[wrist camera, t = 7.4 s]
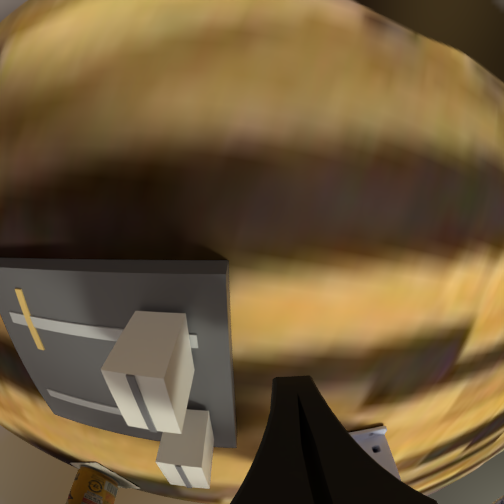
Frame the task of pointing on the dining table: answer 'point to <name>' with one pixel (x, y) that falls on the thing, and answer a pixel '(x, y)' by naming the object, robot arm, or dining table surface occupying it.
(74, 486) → the condiment
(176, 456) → the fader far
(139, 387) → the fader near
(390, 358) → the dining table surface
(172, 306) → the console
